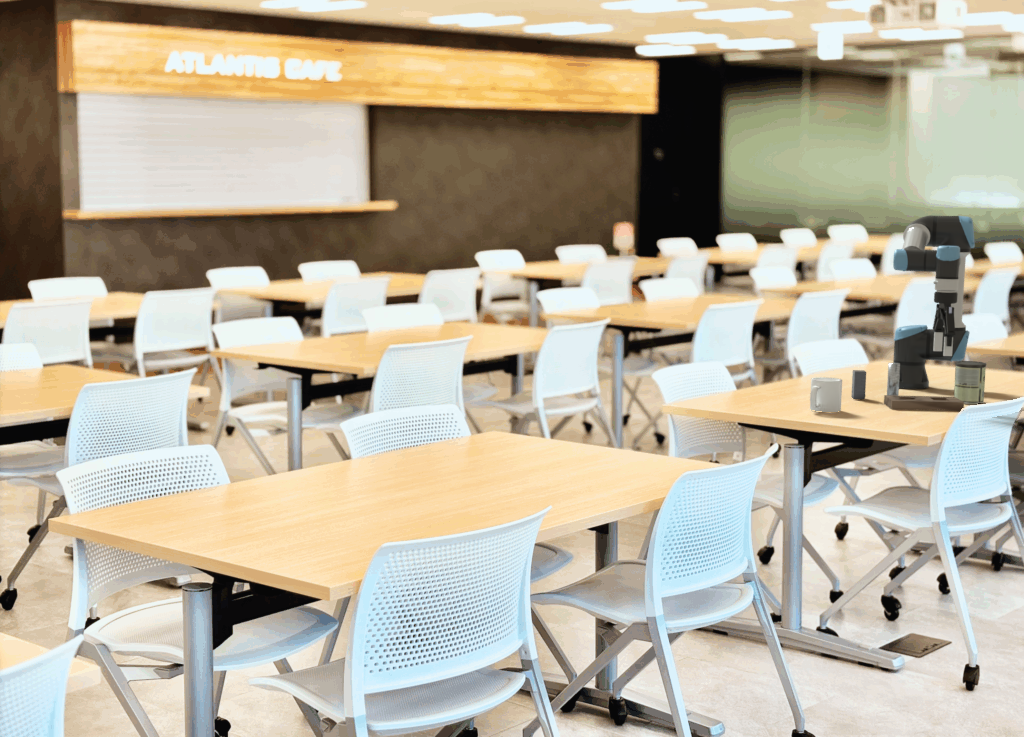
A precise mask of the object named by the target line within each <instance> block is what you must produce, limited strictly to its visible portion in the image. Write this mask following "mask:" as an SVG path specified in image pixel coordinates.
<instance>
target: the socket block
mask: <svg viewBox="0 0 1024 737" xmlns="http://www.w3.org/2000/svg"><path fill="white" fill-rule="evenodd" d="M883 396H884V397H883V404H884V405H885V406H886V407H888V408H889V409H890V410H905V411H906V410H908V411H946V412H947V411H948V412H949V411H950V412H951V411H952V412H961V411H960V410H961V409H962V408H964V407H965V404H964V402H963V401H961V400H959V399H958V398H956V397H954V396H934V395H931V396H930V395H927V396H926V395H887V394H884V395H883Z"/></svg>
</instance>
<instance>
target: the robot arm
mask: <svg viewBox="0 0 1024 737" xmlns="http://www.w3.org/2000/svg"><path fill="white" fill-rule="evenodd" d="M974 229H975V228H974V222H973V218H972V217H971V216H966V215H925V216H922V217H919V218H917V219H914V220H913V221H911V222H910V223H909V224H908V225H907V226H905V229H904V230H903V231H904V232H903V245H902V248H899V249H895V250H894V252H893V261H892V263H893V267H892V268H893V269H894V271H898V272H899V271H902V272H928V273H935V279H934V281H933V285H934V290H935V292H934V293H933V294H934V296H933V302H934V303H935V304H936V307H935V308H936V309H935V315H934V318H933V319H934V320H933V324H932V329H931V328H928V326H927V324H913V325H904V326H899V327H897V328H896V329H895V332H894V338H893V341H894V344H893V346H894V347H893V360H892V361H893V362H892V363H900V376H899V389H908V390H909V389H910V390H921V389H928V388H929V386H930V380H929V376H928V373H927V368H926V360H927V361H943V362H951V363H952V362H958V361H964V359H965V358H966V356H965V355H966V352H967V346H968V343H969V337H970V331H969V330H966V328H967V326H966V324H965V323H964V322H963V312H964V310H963V308H964V307H963V306H964V293H965V274H966V261H967V260H966V258H967V256H969V255H971V250H972V249H974V248H975V247H976V244H975V231H974ZM926 247H932V248H936V249H926Z"/></svg>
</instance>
